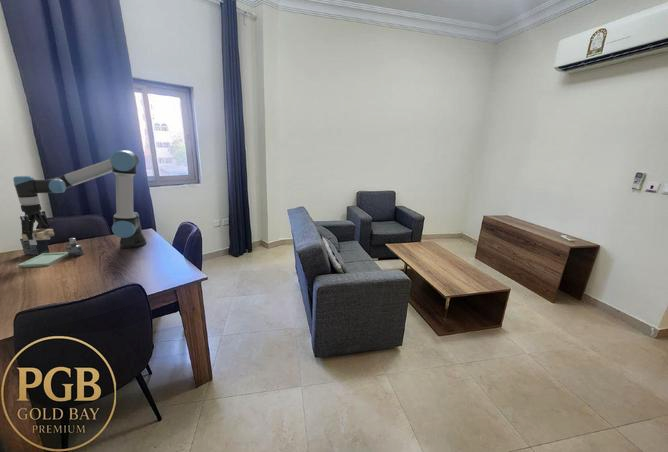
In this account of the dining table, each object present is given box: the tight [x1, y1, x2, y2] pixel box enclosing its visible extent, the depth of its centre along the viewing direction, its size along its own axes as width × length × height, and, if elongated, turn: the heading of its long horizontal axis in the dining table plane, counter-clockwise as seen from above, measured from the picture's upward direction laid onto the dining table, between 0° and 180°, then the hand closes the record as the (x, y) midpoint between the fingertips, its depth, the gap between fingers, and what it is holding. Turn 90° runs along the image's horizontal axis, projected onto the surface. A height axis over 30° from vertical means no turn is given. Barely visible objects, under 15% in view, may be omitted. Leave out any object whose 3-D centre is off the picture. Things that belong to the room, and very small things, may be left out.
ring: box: [20, 228, 55, 241], centre depth 155 cm, size 9×9×4 cm
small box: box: [19, 237, 50, 256], centre depth 167 cm, size 11×6×10 cm, turn 84°
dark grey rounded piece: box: [65, 237, 85, 258], centre depth 167 cm, size 7×7×11 cm
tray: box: [17, 251, 69, 268], centre depth 159 cm, size 14×18×2 cm
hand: (40, 241), depth 156 cm, fingers closed on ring, 9 cm apart
